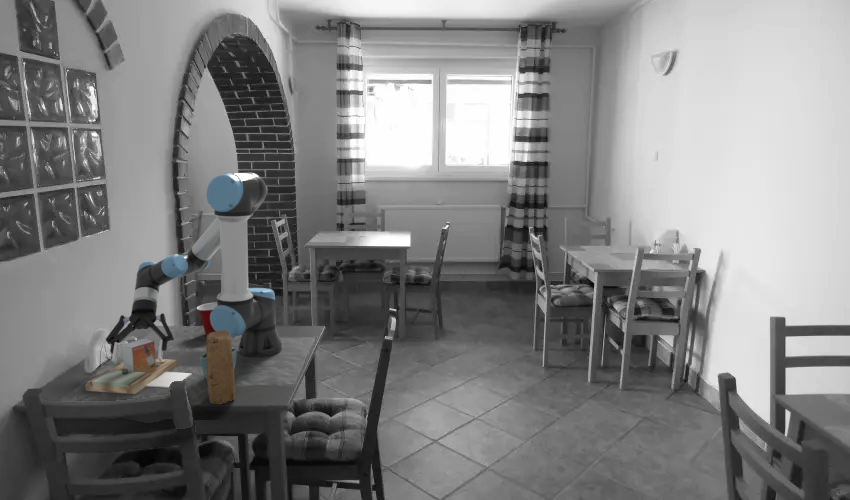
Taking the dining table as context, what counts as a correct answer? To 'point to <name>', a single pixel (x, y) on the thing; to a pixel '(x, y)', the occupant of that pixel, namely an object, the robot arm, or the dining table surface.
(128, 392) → the puzzle board
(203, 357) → the flower pot
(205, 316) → the plastic cup
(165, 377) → the white flat panel
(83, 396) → the dining table surface
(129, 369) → the small box
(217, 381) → the block
